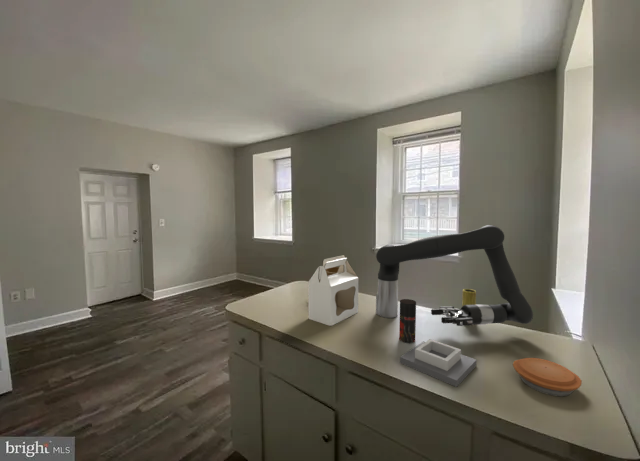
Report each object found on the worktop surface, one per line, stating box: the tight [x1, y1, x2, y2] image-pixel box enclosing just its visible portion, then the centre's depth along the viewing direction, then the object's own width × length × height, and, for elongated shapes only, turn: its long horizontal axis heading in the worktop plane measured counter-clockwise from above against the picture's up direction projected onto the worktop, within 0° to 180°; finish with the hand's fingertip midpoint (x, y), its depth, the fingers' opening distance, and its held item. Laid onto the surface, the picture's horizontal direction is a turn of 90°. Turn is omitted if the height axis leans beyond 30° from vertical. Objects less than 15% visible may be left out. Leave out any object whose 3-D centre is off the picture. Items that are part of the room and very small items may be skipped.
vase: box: [461, 288, 477, 307], centre depth 128 cm, size 6×6×14 cm
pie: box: [512, 357, 583, 397], centre depth 83 cm, size 15×16×5 cm
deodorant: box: [398, 298, 417, 344], centre depth 111 cm, size 6×6×15 cm
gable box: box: [307, 254, 359, 327], centre depth 136 cm, size 22×13×28 cm, turn 140°
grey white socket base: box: [399, 338, 478, 388], centre depth 93 cm, size 18×16×5 cm
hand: (436, 316), depth 111 cm, fingers open, 8 cm apart
